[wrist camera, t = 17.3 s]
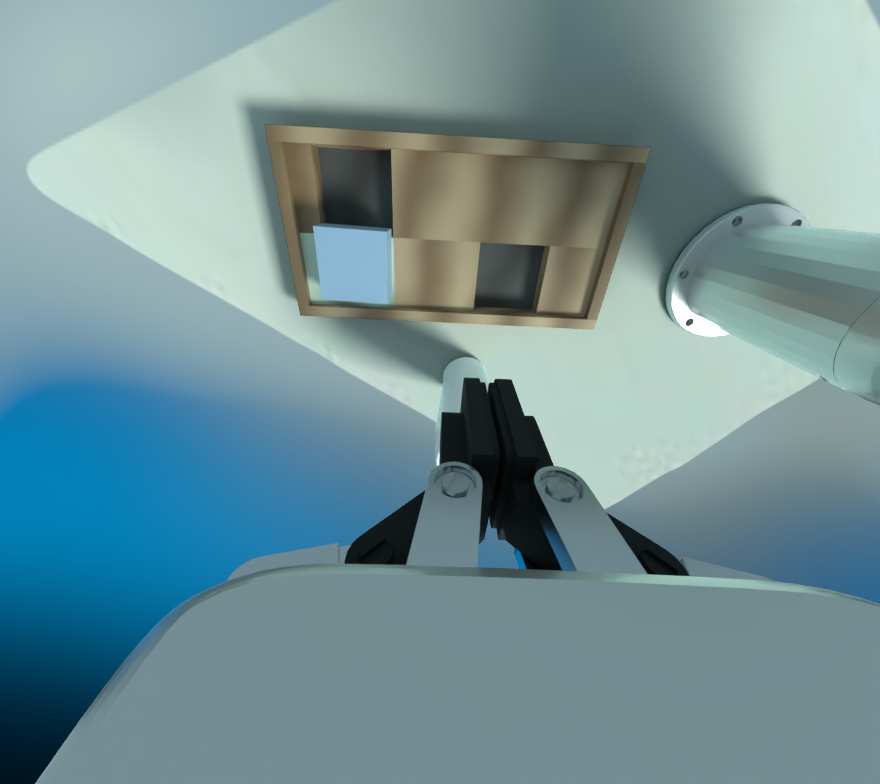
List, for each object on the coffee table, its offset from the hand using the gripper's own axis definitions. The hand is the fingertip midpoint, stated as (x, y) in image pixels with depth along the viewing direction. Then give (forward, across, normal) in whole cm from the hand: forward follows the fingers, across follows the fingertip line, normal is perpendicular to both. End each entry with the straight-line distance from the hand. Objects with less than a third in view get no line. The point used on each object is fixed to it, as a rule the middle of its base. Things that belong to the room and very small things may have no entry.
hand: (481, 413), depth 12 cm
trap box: (+25, +1, -3) cm, 25 cm away
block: (+23, +10, -1) cm, 25 cm away
